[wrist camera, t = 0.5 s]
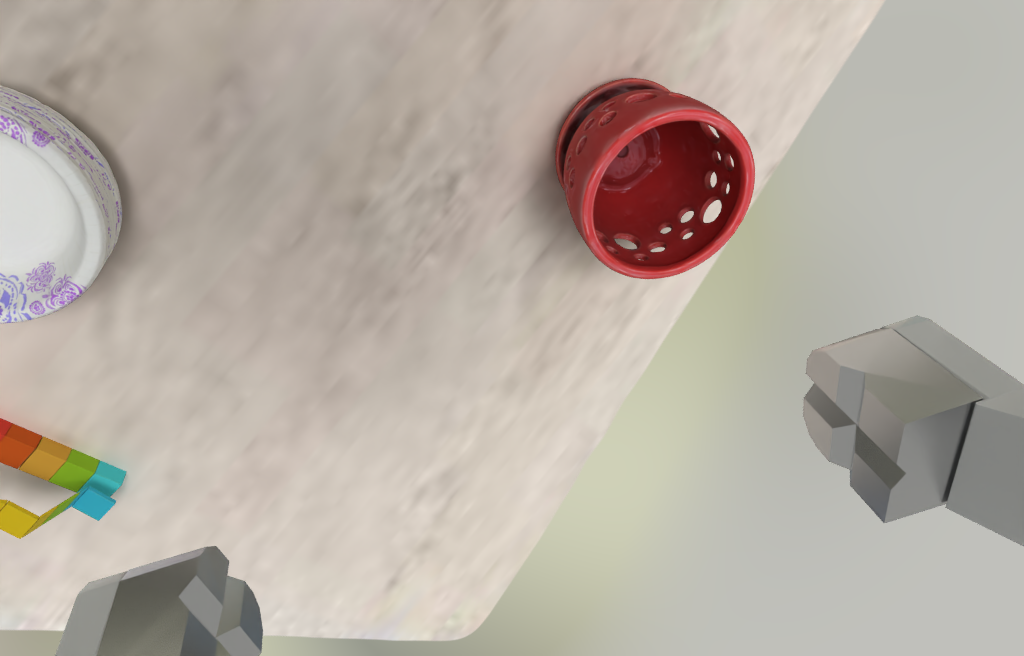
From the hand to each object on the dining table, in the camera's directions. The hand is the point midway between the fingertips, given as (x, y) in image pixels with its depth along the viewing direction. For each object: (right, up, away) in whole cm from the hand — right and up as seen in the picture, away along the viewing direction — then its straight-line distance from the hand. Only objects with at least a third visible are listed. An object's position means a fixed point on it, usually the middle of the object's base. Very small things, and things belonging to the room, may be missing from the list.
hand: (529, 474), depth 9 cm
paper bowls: (-36, +13, +38) cm, 54 cm away
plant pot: (+8, +17, +47) cm, 51 cm away
